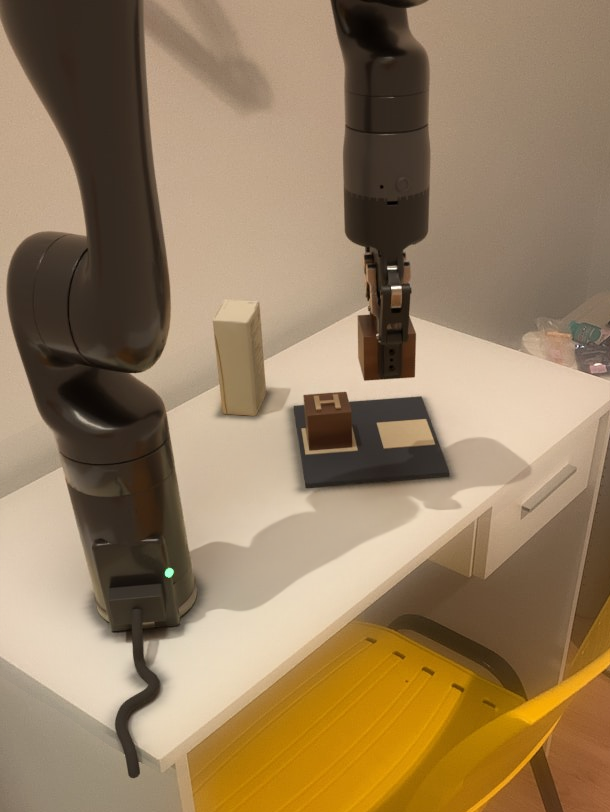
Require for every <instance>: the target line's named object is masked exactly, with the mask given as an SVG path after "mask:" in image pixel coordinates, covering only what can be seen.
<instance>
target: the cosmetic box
mask: <svg viewBox="0 0 610 812" xmlns="http://www.w3.org/2000/svg"><path fill="white" fill-rule="evenodd" d="M212 327H213V328H212V329H213V337H214V345H215V346H214V347H215V354H216V364H217V365H216V366H217V375H218V384H219V385H218V386H219V392H220V402H221V409H222V410H221V411H222V414H225V415H236V416H237V415H239V416H250V417H251V416H252V417H255V416H256V415H257V414H258V412H259V410H260V408H261V405H262V404H263V401H264V399H265V397H266V394H267V385H266V369H265V359H264V357H265V356H264V346H263V331H262V319H261V305H260V300H251V299H250V300H249V299H233V298H225V299H224V300H223V301H222V303H221V304H220V306H219V307H218V309H217V311H216V312H215V315H214V316H213V318H212Z"/></svg>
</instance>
